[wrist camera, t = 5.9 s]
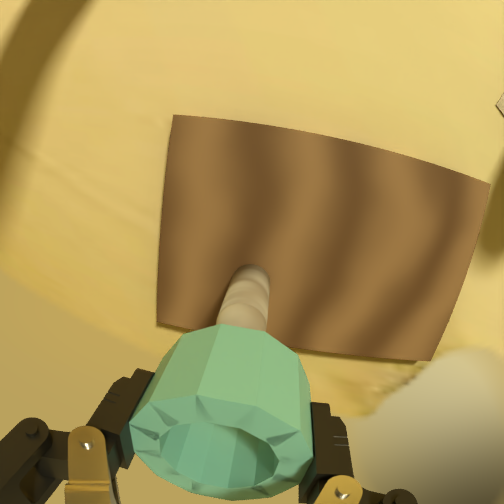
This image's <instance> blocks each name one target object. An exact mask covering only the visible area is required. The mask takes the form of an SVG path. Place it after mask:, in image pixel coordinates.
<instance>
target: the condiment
mask: <svg viewBox="0 0 504 504" xmlns="http://www.w3.org/2000/svg"><path fill="white" fill-rule="evenodd" d="M496 105H497V106H498V108H499V109H500V110H501V111H502V113H503V114H504V93H503V95H502V97H501V98H500V100H499V102H498V103H497V104H496Z"/></svg>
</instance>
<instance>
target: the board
mask: <svg viewBox="0 0 504 504" xmlns="http://www.w3.org/2000/svg"><path fill="white" fill-rule="evenodd" d="M489 189H490V184H489V183H486V182H483V181H481V180H478V179H475V178H473V177H470V176H467V175H464V174H462V173H459V172H456V171H453V170H450V169H447V168H444V167H441V166H438V165H435V164H432V163H429V162H425V161H422V160H419V159H416V158H412V157H409V156H405V155H402V154H398V153H395V152H391V151H388V150H384V149H380V148H376V147H372V146H368V145H364V144H360V143H356V142H352V141H347V140H343V139H338V138H334V137H329V136H324V135H320V134H315V133H309V132H304V131H299V130H293V129H288V128H282V127H276V126H269V125H263V124H256V123H249V122H242V121H234V120H226V119H217V118H207V117H197V116H185V115H173V121H172V128H171V135H170V142H169V150H168V159H167V167H166V176H165V186H164V196H163V208H162V220H161V233H160V249H159V268H158V294H157V322H160V323H165V324H169V325H173V326H178V327H183V328H187V329H192V330H200V329H204V328H207V327H211V326H214V325H218V324H226V325H231V326H237V327H242V328H248V329H254V330H260V331H265V332H266V333H268V334H269V335H271V336H272V337H273V338H275V339H276V340H278V341H279V342H280V343H282V344H283V345H285V346H286V347H293V348H300V349H307V350H315V351H323V352H331V353H339V354H348V355H357V356H367V357H378V358H390V359H402V360H417V361H431V359H432V357H433V355H434V353H435V350H436V348H437V346H438V344H439V342H440V340H441V337H442V335H443V333H444V331H445V328H446V326H447V324H448V321H449V319H450V316H451V314H452V312H453V309H454V306H455V304H456V301H457V299H458V296H459V293H460V291H461V288H462V285H463V282H464V280H465V277H466V274H467V271H468V268H469V265H470V262H471V259H472V255H473V252H474V249H475V245H476V242H477V238H478V235H479V231H480V228H481V224H482V220H483V216H484V212H485V208H486V203H487V199H488V194H489Z"/></svg>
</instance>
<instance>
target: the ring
mask: <svg viewBox="0 0 504 504" xmlns="http://www.w3.org/2000/svg"><path fill="white" fill-rule="evenodd" d="M310 402H311V397H310V384H309V382H308V379H307V377H306V374H305V372H304V369H303V367H302V364H301V362H300V359H299V357H298V354H296V353H295V352H293V351H292V350H290V349H289V348H288V347H286V346H285V345H283V344H282V343H280V342H279V341H278V340H276V339H275V338H273V337H272V336H271V335H269V334H268V333H266V332H265V331H260V330H254V329H248V328H242V327H237V326H231V325H226V324H218V325H214V326H211V327H207V328H204V329H200V330H196V331H193V332H189V333H185V334H183V335H182V336H181V337H180V338H179V340H178V341H177V342H176V343H175V344H174V345H173V347H172V348H171V349H170V350H169V351H168V352H167V354H166V355H165V356H164V357H163V359H162V361H161V362H160V364H159V366H158V368H157V370H156V372H155V374H154V376H153V378H152V380H151V382H150V384H149V385H148V387H147V389H146V391H145V393H144V395H143V397H142V399H141V400H140V402H139V404H138V406H137V408H136V410H135V412H134V414H133V416H132V418H131V419H130V421H129V426H130V432H131V437H132V443H133V448H134V452H135V453H136V454H137V456H138V457H139V458H140V459H141V460H142V461H143V462H144V463H145V464H146V465H147V466H148V467H149V468H150V469H151V470H152V471H153V472H154V473H155V474H156V475H157V476H159V477H161V478H163V479H165V480H167V481H169V482H170V483H172V484H175V485H177V486H178V487H181V488H183V489H185V490H187V491H189V492H191V493H195V494H199V495H204V496H209V497H214V498H219V499H225V500H231V501H235V500H247V499H248V500H249V499H260V498H269V497H273V496H275V495H277V494H279V493H282V492H283V491H286V490H288V489H290V488H292V487H294V486H296V485H298V484H300V482H301V480H302V479H303V477H304V475H305V473H306V471H307V469H308V468H309V466H310V464H311V462H312V460H313V458H314V452H313V435H312V419H311V404H310Z"/></svg>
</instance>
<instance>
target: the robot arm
mask: <svg viewBox="0 0 504 504" xmlns="http://www.w3.org/2000/svg"><path fill="white" fill-rule="evenodd" d="M154 374H155V373H154V372H150V371H146V370H142V369H139V368H137V369H136V370H135V372H134V374H133V375H132V377H131V378H126V377H122V378H120V379H119V380H117V381H116V382H114V383H113V385H112V386H111V388H110V389H109V391H108V393H107V394H106V395H105V397H104V399H103V400H102V401H101V403H100V405H99V406H98V408H97V409H96V411H95V412H94V414H93V415H92V417H91V418H90V420H89V421H88V423H87V424H86V426H80V427H77V428H75V429H74V430H72V431H71V432H63V431H56V430H49V429H48V426H47V425H46V423H45V422H44V421H42V420H41V419H38V418H26V419H24V420H22V421H21V422H19V423H18V424H17V425H16V426H15V427H14V428H13V429H12V430H11V431H10V432H9V433H8V434H7V435H6V436H5V437H4V438H3V439H2V440H1V441H0V504H45V502H46V501H47V500H48V498H49V497H50V496H51V495H52V493H53V492H54V491H55V490H56V488H57V487H58V486H59V484H60V483H61V482H62V481H63V480H69V482H68V484H66V485H65V504H121V502H120V497H119V492H118V485H117V480H116V479H117V478H116V473H117V471H118V469H119V467H122V468H125V469H128V468H129V465H130V463H131V461H132V459H133V457H134V454H135V452H134V448H133V443H132V437H131V432H130V426H129V421H130V419H131V418H132V416H133V414H134V412H135V410H136V408H137V406H138V404H139V402H140V400H141V399H142V397H143V395H144V393H145V391H146V389H147V387H148V385H149V384H150V382H151V380H152V378H153V376H154ZM310 404H311V419H312V435H313V452H314V458H313V460H312V462H311V464H310V466H309V468H308V469H307V471H306V473H305V475H304V477H303V479H302V480H301V482H300V484H299V503H307V504H418V503H417V500H416V498H415V497H414V495H413V494H411V493H410V492H409V491H407V490H404V489H395V490H391V491H389V492H388V493H387V494H386V495H385V494H380V493H376V492H371V491H368V490H366V489H364V488H362V487H361V485H360V483H359V482H358V481H357V480H356V479H355V478H354V475H353V469H352V463H351V457H350V450H349V446H348V445H349V444H348V438H347V431H346V426H345V425H344V423H343V422H342V420H341V419H340V417H336V416H331V413H330V406H329V404H328V403H317V402H310Z"/></svg>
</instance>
